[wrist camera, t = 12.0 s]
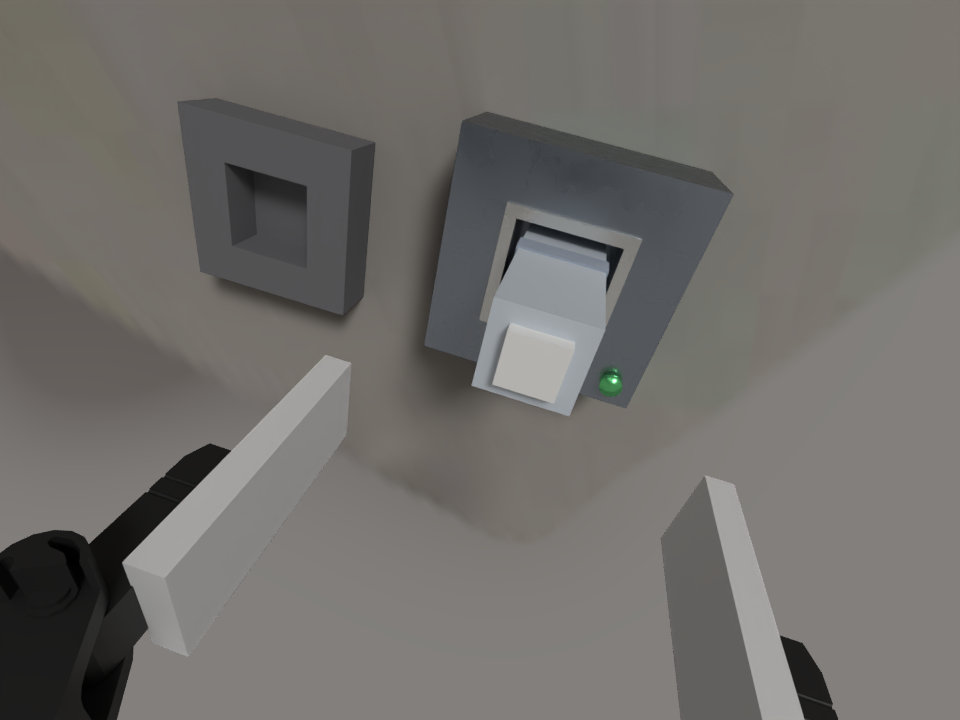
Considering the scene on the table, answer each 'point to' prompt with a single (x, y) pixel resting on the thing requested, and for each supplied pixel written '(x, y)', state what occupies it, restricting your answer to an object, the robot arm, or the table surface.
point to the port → (579, 211)
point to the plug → (545, 320)
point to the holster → (278, 202)
